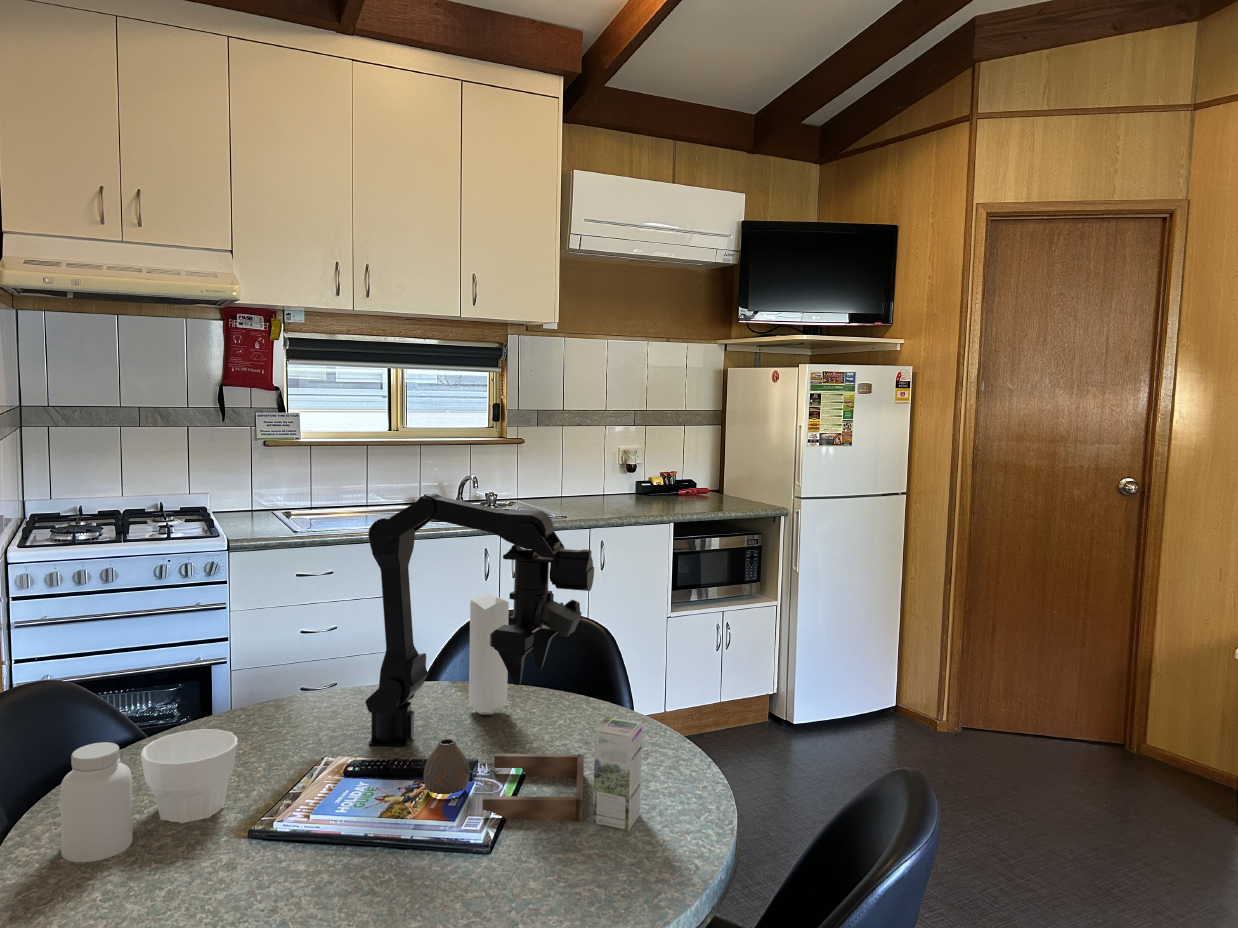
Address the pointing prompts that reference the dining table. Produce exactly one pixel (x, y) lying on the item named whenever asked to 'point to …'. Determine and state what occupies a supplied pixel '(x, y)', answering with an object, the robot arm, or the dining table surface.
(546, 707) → the dining table surface
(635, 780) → the syrup box
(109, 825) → the pill bottle
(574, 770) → the frame
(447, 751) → the vase
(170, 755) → the cup
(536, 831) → the dining table surface
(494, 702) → the crystal
